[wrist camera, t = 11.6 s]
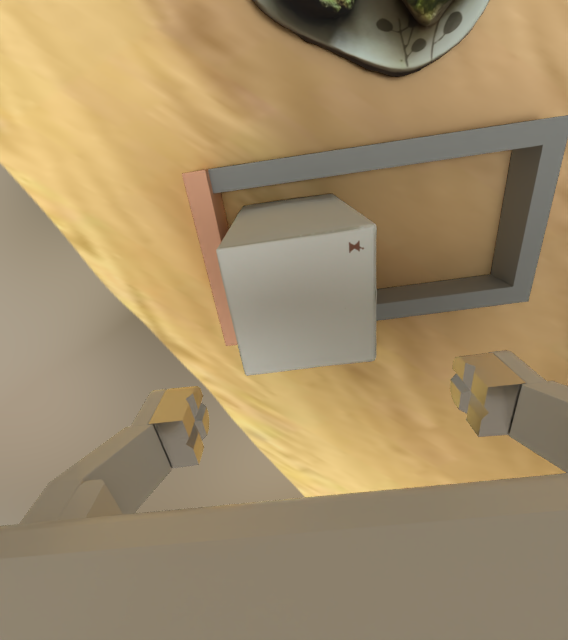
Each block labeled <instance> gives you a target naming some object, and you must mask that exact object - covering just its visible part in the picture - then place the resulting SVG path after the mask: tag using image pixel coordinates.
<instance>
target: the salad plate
mask: <svg viewBox="0 0 568 640" xmlns="http://www.w3.org/2000/svg"><path fill="white" fill-rule="evenodd" d="M253 2H254V3H255V4H256V5H257V6H258V7H259V8H260V9H261V10H262V11H263V12H264V13H265V14H267V15H268V16H269V17H270V18H272V19H273V20H274V21H276V22H277V23H279V24H280V25H281V26H283V27H285V28H288V29H290V30H291V31H293V32H294V33H296V34H297V35H298V36H300V37H301V38H302V39H303V40H305V41H307V42H310V43H313V44H316V45H318V46H320V47H323V48H325V49H328V50H330V51H332V52H334V53H336V54H338V55H340V56H342V57H344V58H346V59H348V60H350V61H352V62H354V63H356V64H358V65H359V66H361V67H363V68H365V69H367V70H371V71H376V72H379V73H382V74H386V75H389V76H395V77H399V76H405V75H408V74H411V73H414V72H417V71H419V70H421V69H422V68H424V67H426V66H427V65H429V64H431V63H432V62H434V61H436V60H438V59H439V58H440V57H442V56H443V55H444V54H446V53H447V52H448V51H450V50H451V49H452V48H453V47H455V46H456V45H457V44H459V43H460V42H461V40H462V39H463V38H464V37H465V36H467V35H468V33H469V32H470V31H471V30H472V28H473V27H474V25H475V24H476V22H477V21H478V19H479V17H480V16H481V15H482V13H483V12H484V10H485V8H486V6H487V4H488V2H489V0H253Z"/></svg>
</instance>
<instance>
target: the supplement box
mask: <svg viewBox="0 0 568 640" xmlns="http://www.w3.org/2000/svg"><path fill="white" fill-rule="evenodd" d="M376 232H377V226H376V224H375V223H373V222H372V221H371V220H369V219H368V218H366V217H365V216H363V215H362V214H360V213H359V212H358V211H356V210H355V209H353V208H352V207H351V206H349V205H348V204H346V203H345V202H343V201H342V200H341V199H339V198H338V197H336V196H335V195H333V194H325V195H317V196H310V197H303V198H295V199H287V200H280V201H273V202H266V203H259V204H252V205H246V206H243V207H242V209H241V210H240V212H239V213H238V215H237V217H236V219H235V220H234V222H233V224H232V225H231V227H230V228H229V230H228V232H227V233H226V235H225V237H224V238H223V240H222V242H221V244H220V245H219V247H218V248H217V249H216V253H217V258H218V263H219V268H220V272H221V276H222V281H223V285H224V289H225V293H226V298H227V302H228V306H229V311H230V315H231V319H232V323H233V327H234V331H235V335H236V340H237V344H238V348H239V352H240V356H241V360H242V364H243V367H244V371H245V375H247V376H248V375H256V374H265V373H273V372H281V371H289V370H297V369H305V368H313V367H320V366H330V365H341V364H351V363H360V362H371V361H374V360H375V358H376V301H377V290H376Z"/></svg>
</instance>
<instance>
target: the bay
mask: <svg viewBox="0 0 568 640" xmlns="http://www.w3.org/2000/svg"><path fill="white" fill-rule="evenodd" d="M567 138H568V115H566V116H559V117H552V118H545V119H538V120H532V121H525V122H519V123H512V124H505V125H499V126H492V127H485V128H479V129H472V130H465V131H459V132H452V133H445V134H439V135H432V136H426V137H419V138H412V139H406V140H399V141H392V142H386V143H379V144H372V145H366V146H359V147H352V148H346V149H339V150H332V151H326V152H319V153H313V154H306V155H299V156H293V157H286V158H279V159H273V160H266V161H259V162H253V163H246V164H239V165H233V166H226V167H220V168H213V169H206V170H200V171H193V172H188V173H182V176H183V180H184V184H185V188H186V192H187V196H188V200H189V203H190V207H191V211H192V215H193V219H194V223H195V227H196V231H197V235H198V239H199V242H200V246H201V250H202V254H203V258H204V262H205V266H206V270H207V274H208V278H209V281H210V285H211V289H212V293H213V297H214V301H215V305H216V309H217V313H218V317H219V321H220V324H221V328H222V332H223V336H224V340H225V344H226V346H229V345H237V340H236V335H235V331H234V327H233V323H232V319H231V315H230V311H229V306H228V302H227V298H226V293H225V289H224V285H223V281H222V276H221V272H220V268H219V263H218V258H217V253H216V249H217V248H218V247H219V245H220V244H221V242H222V240H223V238H224V237H225V235H226V233H227V232H228V230H229V229H228V224H227V220H226V215H225V210H224V205H223V201H222V196H221V192H227V191H234V190H241V189H248V188H254V187H261V186H268V185H275V184H282V183H288V182H295V181H302V180H309V179H316V178H322V177H329V176H336V175H343V174H350V173H356V172H363V171H370V170H377V169H384V168H390V167H397V166H404V165H411V164H418V163H424V162H431V161H438V160H445V159H451V158H458V157H465V156H472V155H479V154H485V153H492V152H499V151H506V150H512V154H511V159H510V165H509V171H508V177H507V183H506V188H505V194H504V200H503V206H502V211H501V217H500V223H499V229H498V234H497V240H496V246H495V252H494V257H493V263H492V269H491V274H490V275H482V276H474V277H467V278H459V279H452V280H444V281H436V282H429V283H421V284H414V285H406V286H399V287H391V288H383V289H376V290H377V301H376V321H378V320H386V319H394V318H402V317H409V316H417V315H425V314H433V313H441V312H449V311H456V310H464V309H472V308H480V307H488V306H496V305H503V304H511V303H519V302H527V301H528V300H529V296H530V292H531V288H532V284H533V280H534V275H535V271H536V267H537V263H538V259H539V255H540V250H541V246H542V242H543V238H544V234H545V230H546V226H547V221H548V217H549V213H550V209H551V205H552V201H553V196H554V192H555V188H556V184H557V180H558V176H559V172H560V167H561V163H562V159H563V155H564V151H565V147H566V142H567Z"/></svg>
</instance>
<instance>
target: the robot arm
mask: <svg viewBox="0 0 568 640" xmlns="http://www.w3.org/2000/svg"><path fill="white" fill-rule="evenodd" d="M452 368H453V370H454V371H455V372H456V374H455V375H454V377H453V378H452V379H451V383H450V391H451V396H452V399H453V401H454V403H455V405H456V406H457V408H458V409H459V410H461V411H463V412H465V413H467V418H466V420H467V422H468V423H469V424H470V426H471V427H472V429H473V430H474V431H475V433H476V434H477V436H478V437H483V436H497V435H509V436H510V437H511V438H513V439H515V440H516V441H518V442H519V443H521V444H522V445H524V446H526V447H527V448H529V449H530V450H532V451H533V452H535V453H537V454H538V455H540V456H541V457H543V458H544V459H546V460H548V461H549V462H551V463H552V464H554V465H555V466H557V467H559V468H560V469H562V470H563V471H565V472H566V473H565V474H554V475H544V476H533V477H522V478H511V479H500V480H490V481H479V482H468V483H457V484H446V485H435V486H425V487H414V488H403V489H392V490H381V491H370V492H359V493H349V494H338V495H327V496H316V497H305V498H295V499H284V500H273V501H263V502H252V503H241V504H231V505H220V506H210V507H198V508H188V509H177V510H165V511H156V512H155V511H154V512H144V513H135V512H136V511H137V510H138V509H139V507H140V506H141V505H142V504H143V503H144V502H145V500H146V499H147V498H148V497H149V496H150V495H151V494H152V492H153V491H154V490H155V489H156V488H157V487H158V485H159V484H160V483H161V482H162V481H163V480H164V478H165V477H166V476H167V475H168V474H169V473H170V472H171V470H172V468H178V467H186V466H193V465H199V463H200V459H201V456H202V452H203V448H204V446H203V443H202V440H203V439H204V438H205V437H206V436H207V433H208V430H209V415H208V410H207V407H206V406H205V405H204V404H202V403H201V401H202V397H203V395H202V392H201V389H200V388H199V387H198V386H193V387H183V388H172V389H162V390H154V391H152V392H150V394H149V395H148V397H147V399H146V401H145V402H144V404H143V406H142V407H141V409H140V411H139V413H138V414H137V416H136V418H135V420H134V421H133V423H132V425H131V426H130V427H125V428H124V429H122V430H121V431H120V432H118V433H117V434H116V435H114V436H113V437H111V438H110V439H109V440H107V441H106V442H105V443H103V444H102V445H100V446H99V447H98V448H97V449H95V450H94V451H92V452H91V453H89V454H88V455H87V456H85V457H84V458H83V459H81V460H80V461H78V462H77V463H76V464H74V465H73V466H72V467H70V468H69V469H67V470H66V471H65V472H63V473H62V474H61V475H59V476H58V477H56V478H55V479H54V480H52V481H51V482H50V483H48V485H47V486H46V488H45V489H44V490H43V492H42V493H41V495H40V496H39V497H38V499H37V500H36V502H35V503H34V504H33V506H32V507H31V508H30V510H29V511H28V512H27V514H26V515H25V517H24V518H23V519H22V521H21V522H20V523H19V524H14V525H3V526H0V640H568V386H566V385H563V384H560V383H557V382H554V381H546V380H545V379H543V378H542V377H541V376H540V375H539V374H537V373H536V372H535V371H534V370H533V369H531V368H530V367H529V366H528V365H527V364H525V363H524V362H523V361H522V360H520V359H519V358H518V357H517V356H516V355H514V354H513V353H512V352H510V351H507V350H502V351H495V352H489V353H485V354H476V355H468V356H459V357H455V359H454V361H453V366H452Z"/></svg>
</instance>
